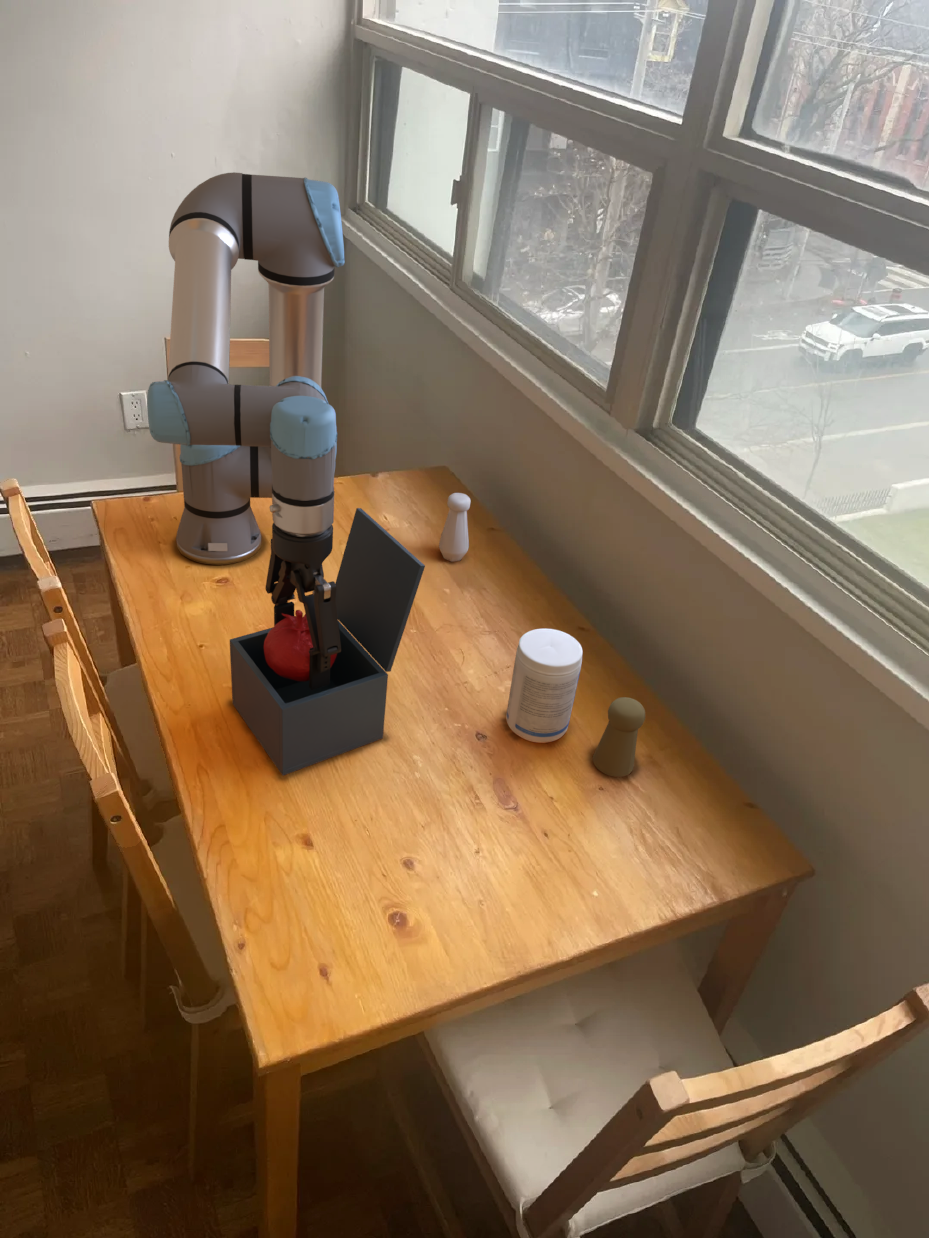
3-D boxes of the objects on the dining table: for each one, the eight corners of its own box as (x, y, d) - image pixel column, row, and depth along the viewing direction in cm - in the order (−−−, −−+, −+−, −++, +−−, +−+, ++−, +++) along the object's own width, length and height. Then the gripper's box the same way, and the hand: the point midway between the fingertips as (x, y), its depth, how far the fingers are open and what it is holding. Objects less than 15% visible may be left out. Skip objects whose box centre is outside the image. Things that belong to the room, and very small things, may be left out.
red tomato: (303, 700, 120) (304, 644, 115) (249, 669, 124) (247, 613, 119) (351, 666, 127) (354, 612, 122) (298, 637, 131) (299, 583, 126)
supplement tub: (579, 733, 136) (598, 656, 128) (530, 753, 131) (546, 674, 123) (540, 696, 142) (556, 620, 134) (492, 714, 138) (505, 636, 129)
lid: (420, 565, 116) (425, 565, 117) (356, 507, 127) (361, 508, 127) (385, 672, 123) (390, 671, 124) (327, 608, 134) (332, 608, 134)
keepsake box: (282, 776, 122) (282, 709, 116) (232, 704, 133) (229, 639, 126) (383, 738, 131) (388, 674, 124) (328, 673, 141) (330, 611, 134)
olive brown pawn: (585, 751, 133) (600, 694, 127) (621, 744, 135) (637, 688, 129) (604, 780, 129) (620, 722, 122) (641, 772, 131) (658, 715, 124)
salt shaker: (471, 562, 173) (480, 502, 166) (444, 565, 171) (451, 505, 164) (460, 547, 178) (468, 487, 170) (433, 549, 176) (439, 490, 168)
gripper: (237, 489, 118) (242, 627, 130) (318, 574, 103) (314, 720, 116) (289, 479, 121) (289, 614, 134) (374, 560, 107) (365, 702, 120)
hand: (301, 663), depth 125 cm, fingers closed on red tomato, 10 cm apart
